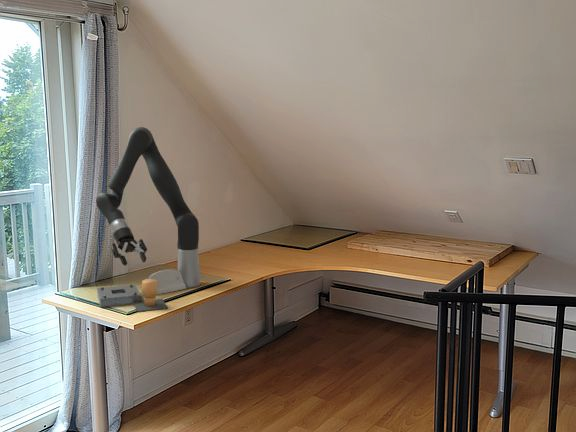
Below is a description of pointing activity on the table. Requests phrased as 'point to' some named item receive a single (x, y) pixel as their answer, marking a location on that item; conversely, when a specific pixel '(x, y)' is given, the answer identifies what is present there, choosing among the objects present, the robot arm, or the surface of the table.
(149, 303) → the wooden block
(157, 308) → the mat
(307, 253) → the table surface
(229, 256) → the table surface
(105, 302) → the housing
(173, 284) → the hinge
